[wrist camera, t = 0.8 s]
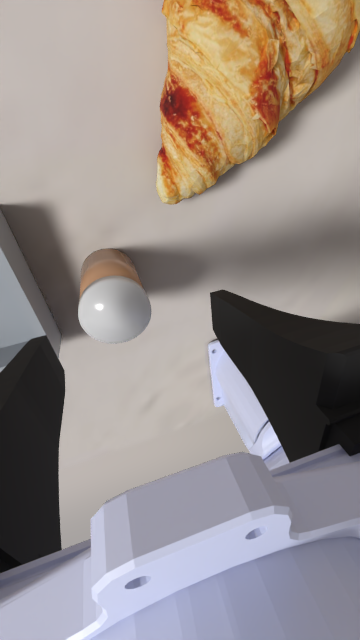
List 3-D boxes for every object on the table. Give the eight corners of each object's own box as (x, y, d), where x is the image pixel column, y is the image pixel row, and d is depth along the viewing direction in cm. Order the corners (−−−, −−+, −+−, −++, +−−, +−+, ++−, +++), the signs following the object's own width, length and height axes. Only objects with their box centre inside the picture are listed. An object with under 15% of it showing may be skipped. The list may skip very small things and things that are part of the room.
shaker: (141, 291, 22) (157, 332, 17) (90, 305, 22) (91, 351, 17) (129, 242, 20) (143, 273, 15) (71, 255, 19) (66, 292, 14)
